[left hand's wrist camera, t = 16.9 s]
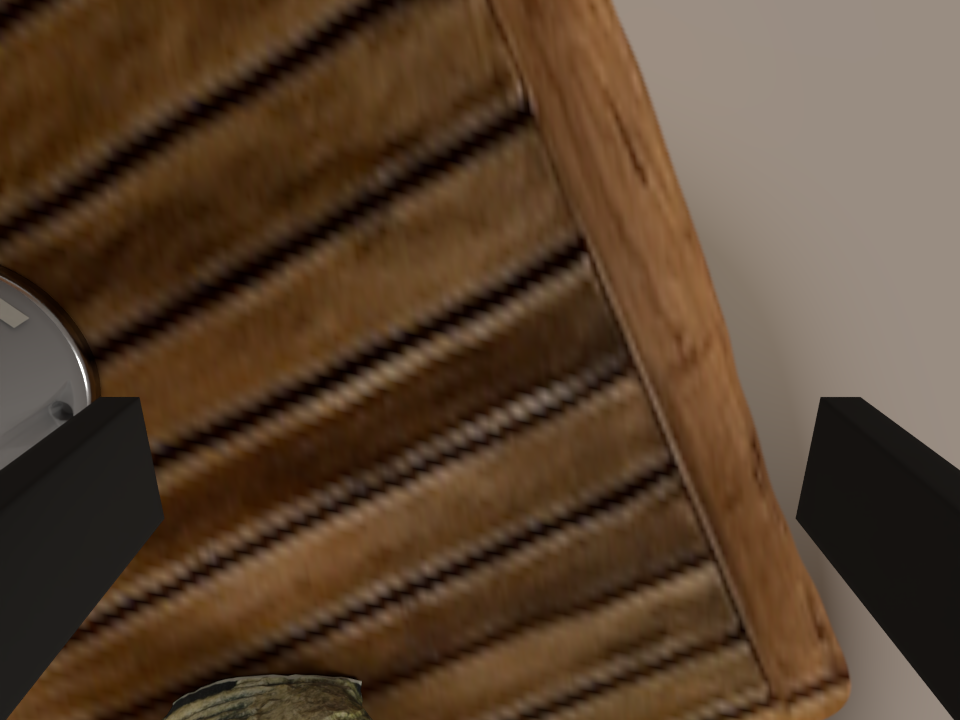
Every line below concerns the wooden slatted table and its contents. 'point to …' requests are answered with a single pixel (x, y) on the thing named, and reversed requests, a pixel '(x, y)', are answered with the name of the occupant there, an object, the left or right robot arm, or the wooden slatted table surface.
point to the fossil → (273, 699)
